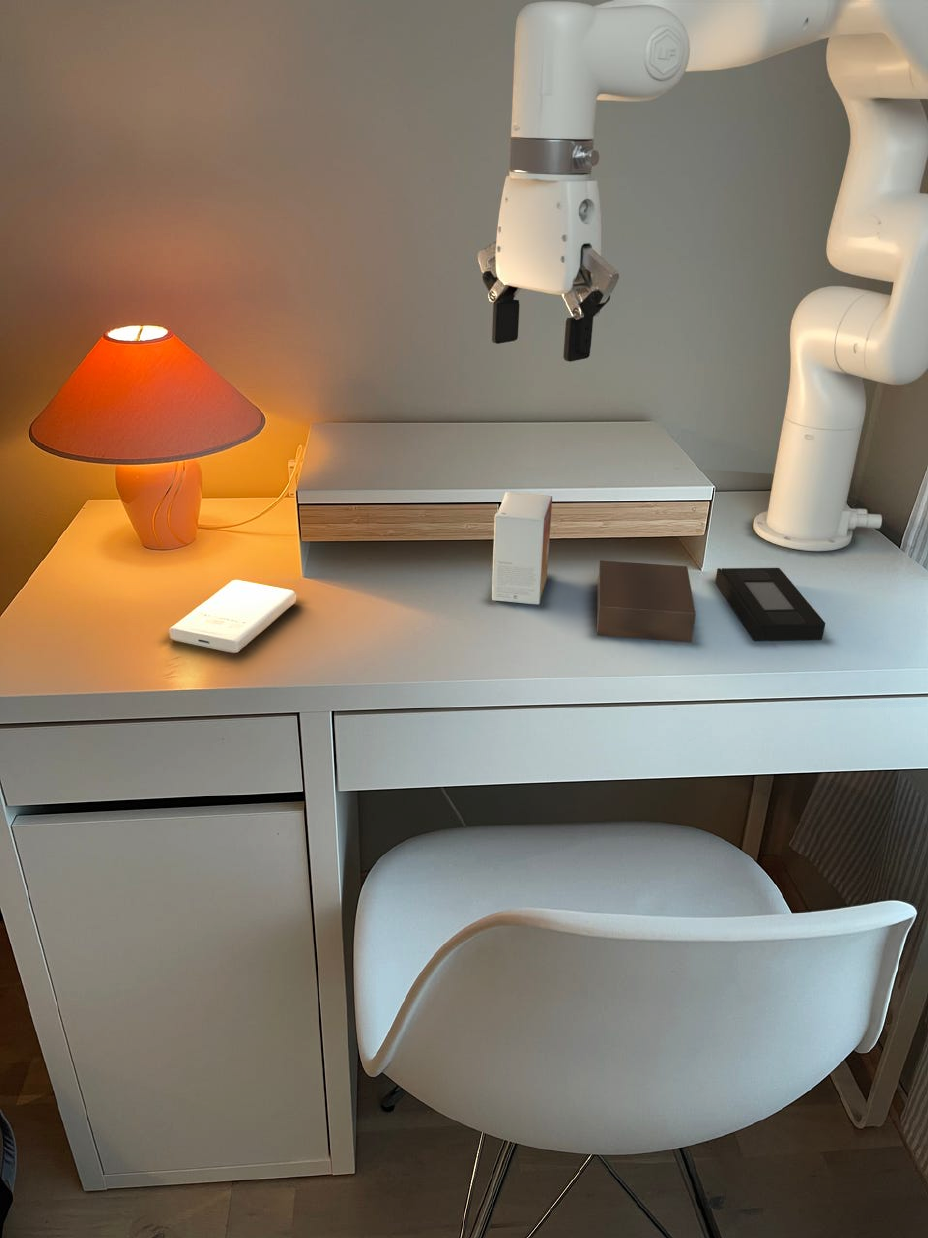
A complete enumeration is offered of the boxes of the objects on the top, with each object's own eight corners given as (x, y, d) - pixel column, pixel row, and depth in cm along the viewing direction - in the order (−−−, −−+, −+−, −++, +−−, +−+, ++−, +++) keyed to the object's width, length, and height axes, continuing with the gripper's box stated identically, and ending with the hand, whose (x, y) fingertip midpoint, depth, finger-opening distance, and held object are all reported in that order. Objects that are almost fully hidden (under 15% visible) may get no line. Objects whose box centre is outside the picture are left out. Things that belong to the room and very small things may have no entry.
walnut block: (683, 593, 116) (687, 566, 114) (691, 642, 105) (695, 613, 104) (597, 587, 117) (600, 560, 115) (596, 635, 106) (599, 606, 105)
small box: (539, 606, 112) (544, 519, 107) (490, 601, 113) (493, 515, 108) (548, 577, 119) (553, 494, 114) (502, 572, 120) (505, 490, 115)
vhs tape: (776, 582, 119) (779, 567, 118) (822, 640, 106) (826, 624, 105) (715, 583, 118) (717, 568, 117) (754, 641, 106) (757, 625, 105)
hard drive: (297, 603, 112) (238, 654, 101) (233, 591, 114) (169, 639, 104) (296, 590, 111) (236, 640, 100) (232, 578, 113) (168, 626, 103)
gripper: (652, 165, 87) (631, 361, 95) (512, 155, 98) (504, 331, 106) (597, 167, 83) (580, 372, 91) (456, 156, 94) (452, 340, 102)
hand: (539, 350), depth 99 cm, fingers open, 9 cm apart
